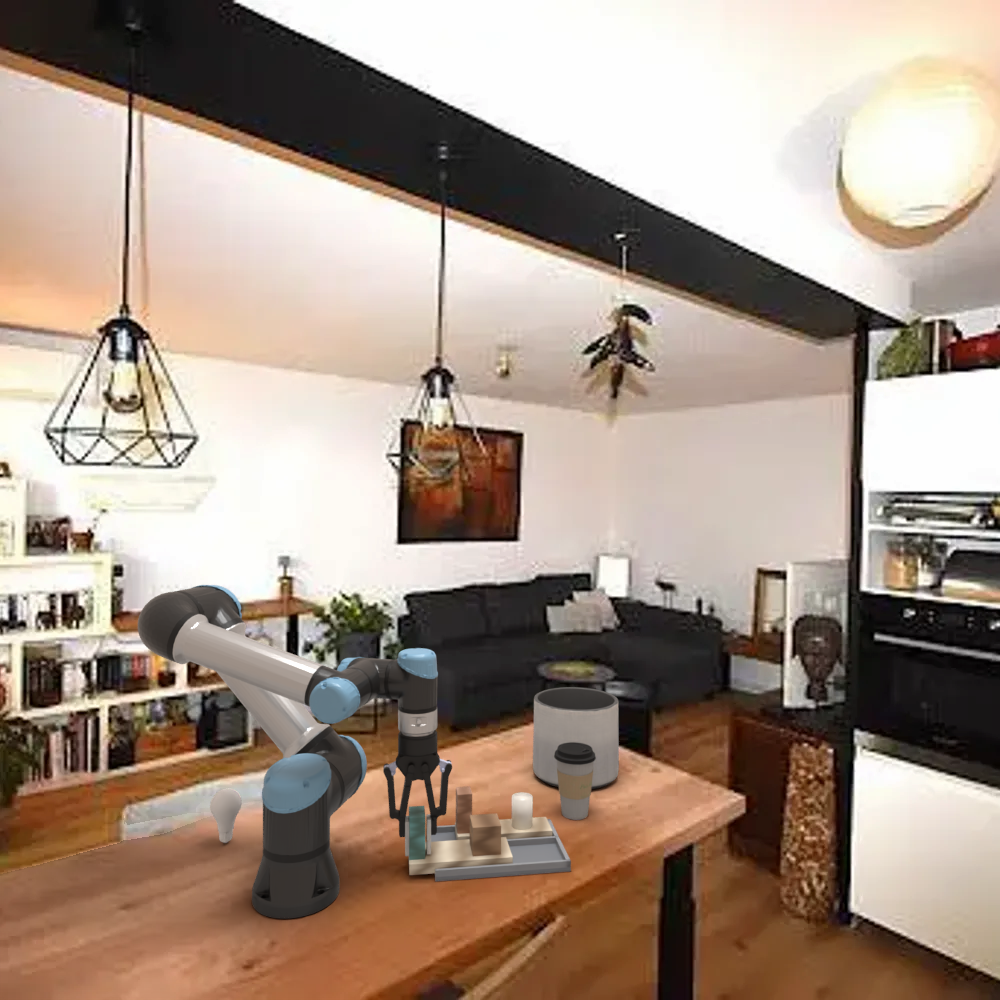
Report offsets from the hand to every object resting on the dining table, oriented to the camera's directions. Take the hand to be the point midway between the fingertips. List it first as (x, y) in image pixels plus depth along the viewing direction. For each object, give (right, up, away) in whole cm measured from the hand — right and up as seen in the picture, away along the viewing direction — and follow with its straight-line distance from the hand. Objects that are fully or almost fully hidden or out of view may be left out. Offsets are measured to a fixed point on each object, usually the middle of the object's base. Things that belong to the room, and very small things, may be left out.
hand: (417, 851), depth 137 cm
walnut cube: (+13, 0, +2) cm, 13 cm away
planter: (+35, -4, +47) cm, 59 cm away
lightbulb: (-41, -3, +10) cm, 42 cm away
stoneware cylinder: (+20, 0, +12) cm, 24 cm away
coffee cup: (+33, -4, +24) cm, 41 cm away
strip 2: (+17, -2, +11) cm, 20 cm away
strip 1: (+8, -3, +1) cm, 9 cm away
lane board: (+15, -3, +6) cm, 17 cm away
